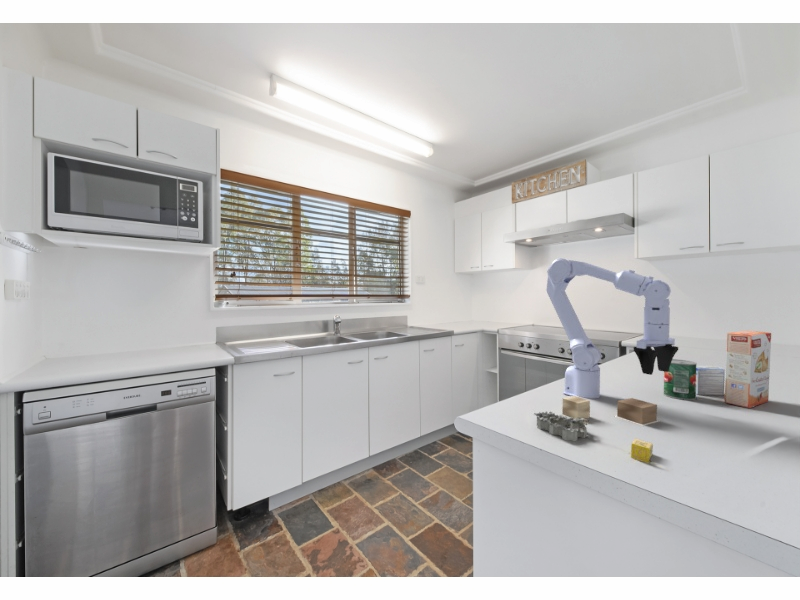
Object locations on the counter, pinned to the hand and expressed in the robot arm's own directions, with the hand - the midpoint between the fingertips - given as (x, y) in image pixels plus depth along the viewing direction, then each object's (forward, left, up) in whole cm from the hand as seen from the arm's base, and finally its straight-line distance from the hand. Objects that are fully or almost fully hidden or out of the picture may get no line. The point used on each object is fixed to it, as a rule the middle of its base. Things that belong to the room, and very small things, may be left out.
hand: (655, 372), depth 95 cm
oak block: (-5, -26, -10) cm, 28 cm away
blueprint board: (+2, -14, -10) cm, 18 cm away
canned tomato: (-4, +20, -11) cm, 23 cm away
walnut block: (+3, -14, -10) cm, 17 cm away
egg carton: (-1, -37, -11) cm, 38 cm away
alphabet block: (+15, -33, -11) cm, 38 cm away
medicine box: (-2, +31, -11) cm, 33 cm away
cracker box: (+8, +31, -11) cm, 34 cm away
